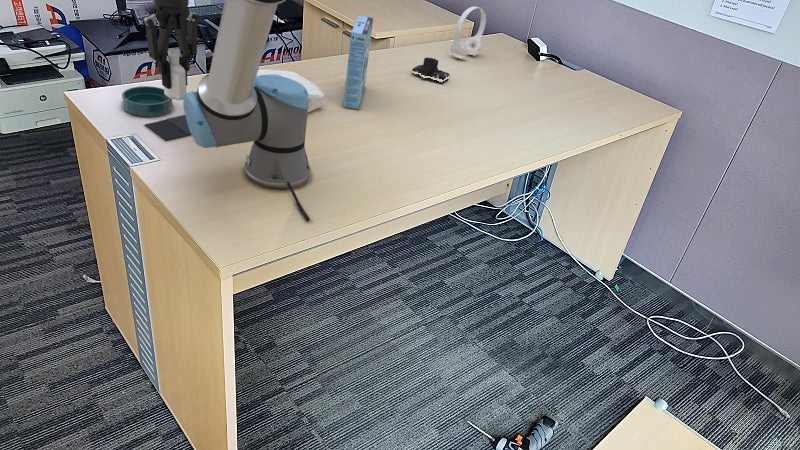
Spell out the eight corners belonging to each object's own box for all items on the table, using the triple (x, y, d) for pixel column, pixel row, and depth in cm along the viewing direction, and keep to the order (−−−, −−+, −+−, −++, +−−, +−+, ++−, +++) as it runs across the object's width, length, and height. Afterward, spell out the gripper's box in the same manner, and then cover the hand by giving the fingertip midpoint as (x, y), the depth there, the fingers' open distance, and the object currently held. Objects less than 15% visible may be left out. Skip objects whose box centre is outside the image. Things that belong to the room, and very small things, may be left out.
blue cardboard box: (358, 110, 183) (368, 35, 170) (341, 107, 183) (350, 32, 170) (364, 87, 199) (374, 17, 187) (349, 84, 199) (358, 14, 186)
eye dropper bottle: (169, 102, 147) (167, 54, 140) (162, 93, 150) (160, 45, 144) (187, 100, 149) (186, 53, 143) (180, 91, 153) (178, 45, 146)
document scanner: (201, 98, 172) (200, 77, 168) (283, 84, 190) (284, 65, 186) (241, 127, 160) (241, 105, 157) (324, 110, 179) (326, 90, 175)
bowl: (181, 111, 163) (180, 99, 161) (138, 121, 154) (137, 108, 152) (157, 95, 169) (156, 83, 167) (114, 103, 160) (113, 90, 158)
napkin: (208, 130, 156) (208, 129, 156) (165, 141, 148) (165, 139, 148) (187, 116, 161) (187, 114, 161) (144, 125, 153) (144, 123, 153)
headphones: (483, 57, 249) (495, 7, 238) (458, 63, 236) (470, 12, 226) (469, 51, 253) (480, 2, 242) (444, 57, 240) (454, 6, 229)
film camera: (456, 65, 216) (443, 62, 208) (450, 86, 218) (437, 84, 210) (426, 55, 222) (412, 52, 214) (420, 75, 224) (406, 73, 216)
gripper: (194, -20, 143) (196, 74, 156) (125, -17, 132) (134, 85, 144) (212, -11, 139) (213, 85, 152) (143, -7, 128) (150, 96, 141)
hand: (174, 85), depth 148 cm, fingers closed on eye dropper bottle, 4 cm apart
